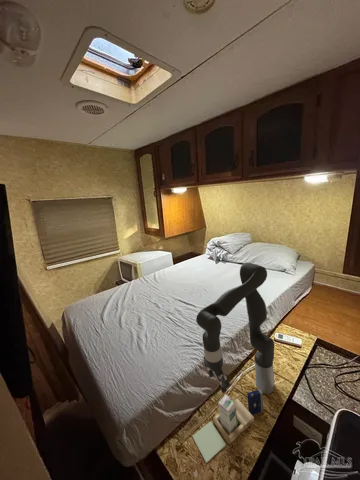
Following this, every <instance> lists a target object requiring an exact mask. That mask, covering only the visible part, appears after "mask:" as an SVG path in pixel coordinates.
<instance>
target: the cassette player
mask: <svg viewBox="0 0 360 480" xmlns="http://www.w3.org/2000/svg"><path fill="white" fill-rule="evenodd" d="M247 408H248V409H247V410H248V411H249V412H250V413H251V415H252V416H254V415H257V414H259V413H262V412H264V410H265V409H264V393H263V392H262V390H261V389H256V390H255V389H254V390H251V391H250V392H247Z"/></svg>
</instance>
